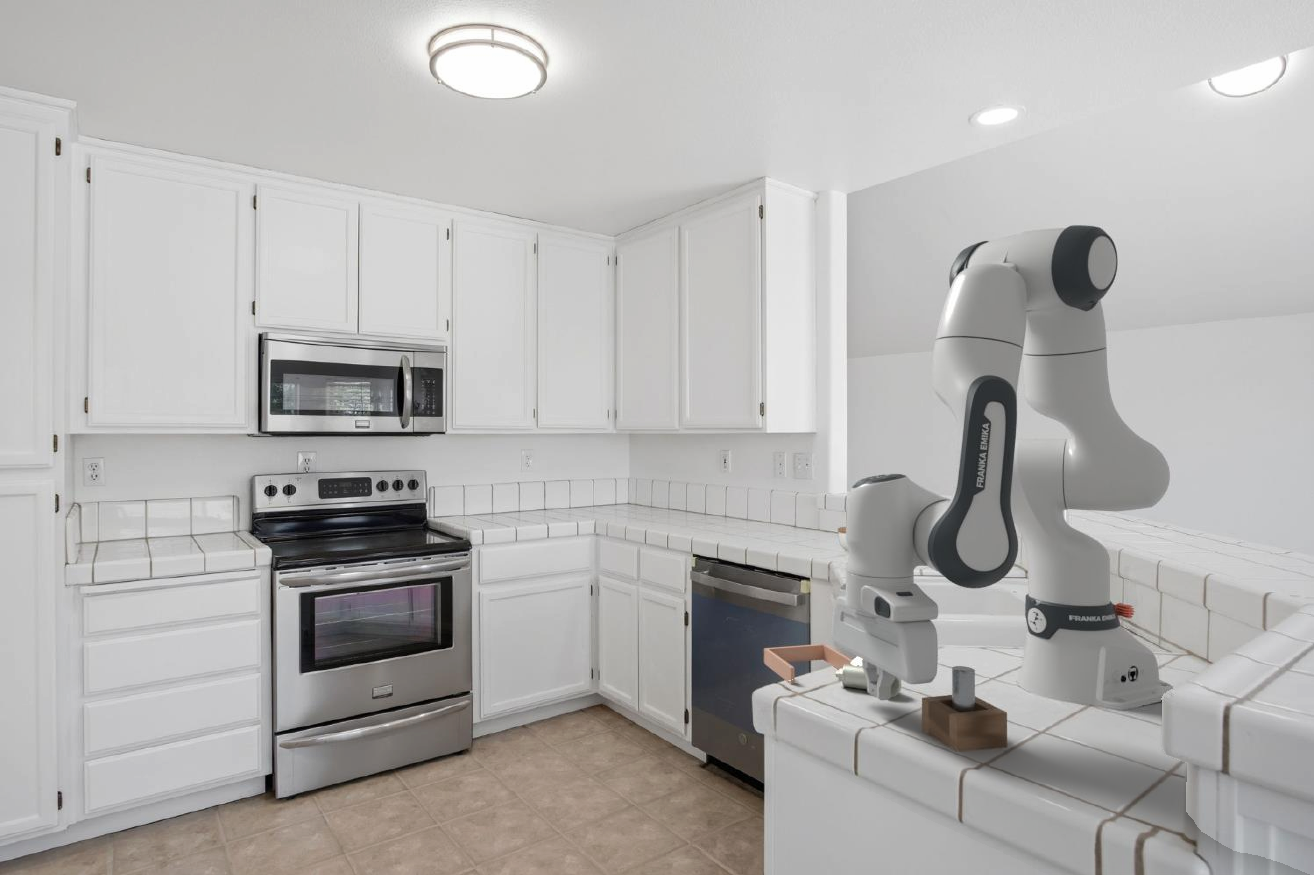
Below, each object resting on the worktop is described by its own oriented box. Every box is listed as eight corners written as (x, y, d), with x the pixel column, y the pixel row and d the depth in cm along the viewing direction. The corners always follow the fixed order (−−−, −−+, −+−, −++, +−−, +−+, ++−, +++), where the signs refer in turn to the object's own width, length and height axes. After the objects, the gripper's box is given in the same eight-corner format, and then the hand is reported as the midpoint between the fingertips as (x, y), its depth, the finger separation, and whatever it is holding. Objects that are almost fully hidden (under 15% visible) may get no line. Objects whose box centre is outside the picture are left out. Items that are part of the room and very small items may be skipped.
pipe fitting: (831, 660, 112) (868, 653, 114) (831, 684, 112) (868, 677, 114) (862, 678, 104) (901, 671, 106) (862, 705, 104) (901, 696, 107)
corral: (824, 658, 125) (824, 643, 125) (856, 678, 114) (856, 662, 114) (763, 663, 122) (763, 648, 122) (790, 684, 112) (790, 668, 112)
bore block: (969, 727, 95) (969, 693, 95) (1007, 749, 88) (1007, 712, 88) (921, 732, 93) (921, 697, 93) (956, 755, 86) (956, 718, 86)
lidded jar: (850, 548, 251) (850, 521, 251) (877, 552, 243) (877, 524, 243) (831, 551, 244) (831, 523, 244) (858, 555, 236) (858, 526, 236)
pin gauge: (965, 736, 92) (965, 665, 92) (979, 744, 89) (979, 671, 89) (948, 738, 91) (947, 666, 91) (961, 746, 89) (961, 673, 89)
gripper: (821, 581, 107) (820, 675, 107) (902, 611, 87) (902, 726, 87) (859, 579, 109) (858, 671, 109) (947, 608, 89) (947, 721, 89)
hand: (878, 696), depth 98 cm, fingers closed
